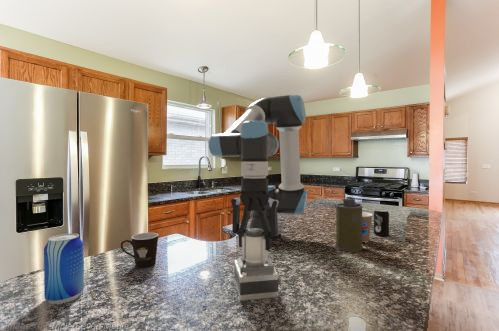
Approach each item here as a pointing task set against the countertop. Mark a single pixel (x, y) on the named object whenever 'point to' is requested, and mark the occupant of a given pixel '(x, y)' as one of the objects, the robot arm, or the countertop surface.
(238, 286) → the grey square holder base
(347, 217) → the canister
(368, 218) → the coffee cup
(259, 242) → the beige and black cylinder
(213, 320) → the countertop surface
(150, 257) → the coffee mug
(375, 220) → the beverage can
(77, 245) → the beer can
